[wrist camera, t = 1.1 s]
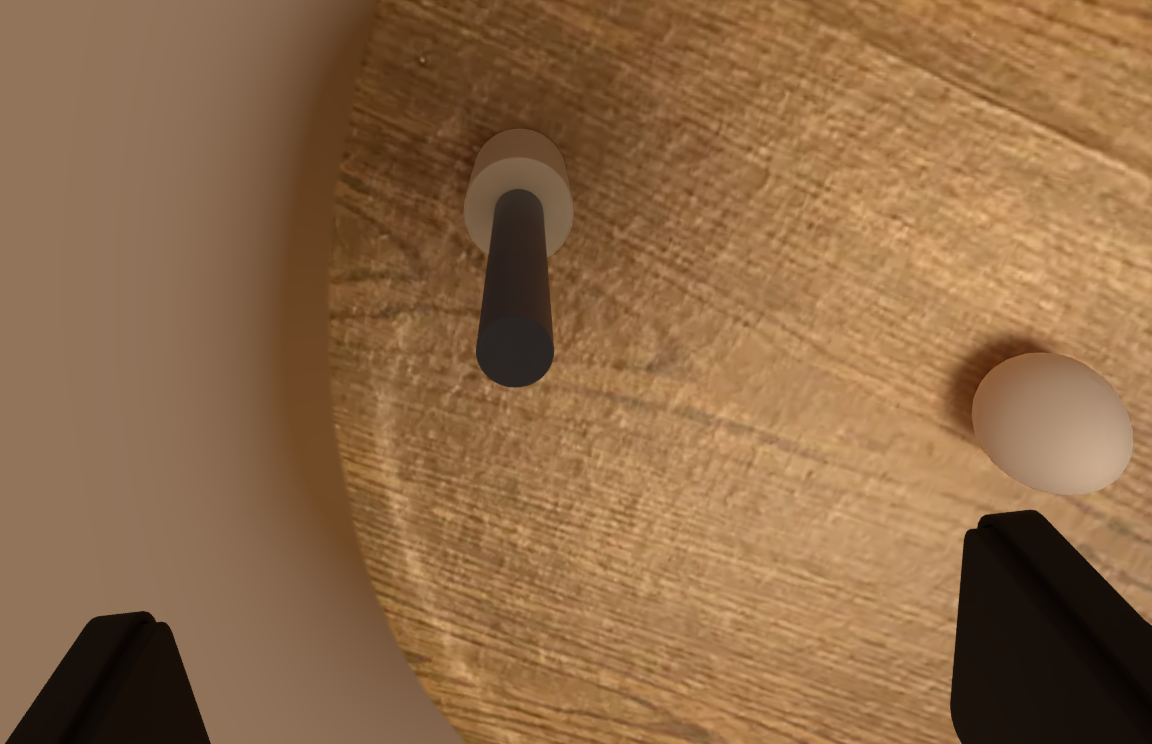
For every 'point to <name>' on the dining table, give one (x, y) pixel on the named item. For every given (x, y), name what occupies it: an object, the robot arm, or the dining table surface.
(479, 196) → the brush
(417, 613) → the dining table surface
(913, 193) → the dining table surface
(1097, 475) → the egg
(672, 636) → the dining table surface
